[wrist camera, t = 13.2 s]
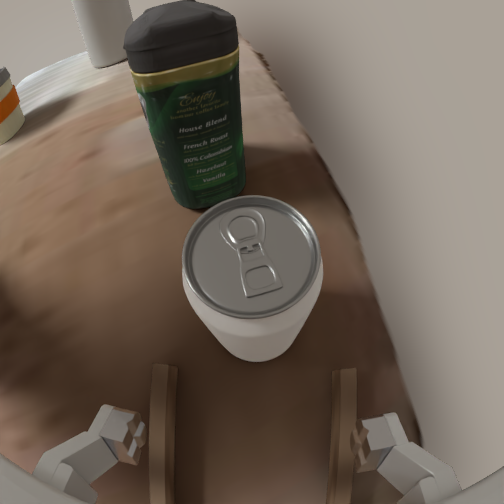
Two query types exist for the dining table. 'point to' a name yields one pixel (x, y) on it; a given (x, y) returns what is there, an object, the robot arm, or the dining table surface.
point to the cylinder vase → (103, 29)
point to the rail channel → (165, 434)
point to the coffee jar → (191, 97)
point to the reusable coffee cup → (9, 108)
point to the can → (252, 274)
